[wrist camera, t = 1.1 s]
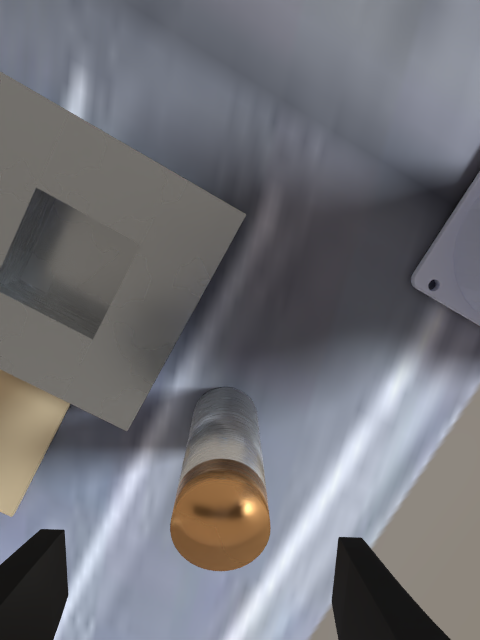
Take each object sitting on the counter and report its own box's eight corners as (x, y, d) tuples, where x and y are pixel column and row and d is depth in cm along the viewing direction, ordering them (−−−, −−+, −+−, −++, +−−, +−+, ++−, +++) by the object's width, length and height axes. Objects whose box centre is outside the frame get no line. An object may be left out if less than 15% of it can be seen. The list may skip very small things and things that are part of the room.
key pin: (269, 405, 22) (288, 511, 14) (237, 456, 22) (239, 585, 14) (212, 376, 21) (199, 468, 13) (182, 428, 22) (153, 546, 14)
